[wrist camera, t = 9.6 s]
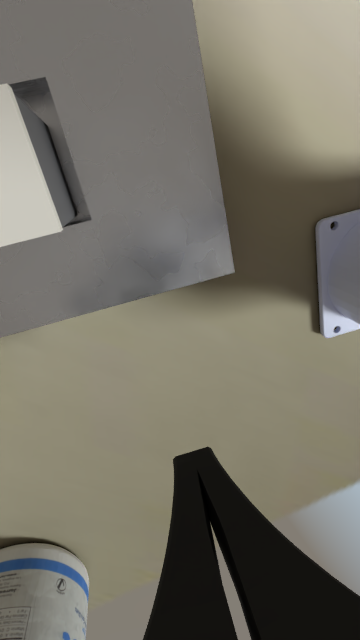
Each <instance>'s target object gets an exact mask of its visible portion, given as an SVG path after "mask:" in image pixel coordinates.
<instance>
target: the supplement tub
mask: <svg viewBox="0 0 360 640" xmlns="http://www.w3.org/2000/svg"><path fill="white" fill-rule="evenodd" d="M88 592H89V577H88V573H87V570H86V568H85V566H84V565H83V563H82V562H81V561H80V560H79V559H78V558H77V557H76V556H75V555H74V554H72V553H71V552H69V551H67V550H65V549H63V548H61V547H58V546H55V545H50V544H43V543H27V544H19V545H14V546H9V547H6V548H3V549H0V640H86V626H87V611H88Z"/></svg>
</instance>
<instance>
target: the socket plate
mask: <svg viewBox="0 0 360 640" xmlns="http://www.w3.org/2000/svg"><path fill="white" fill-rule="evenodd" d="M6 83H7V84H8V85H9V86H10V87H11V88H12V90H13V93H14V94H15V95H16V96H17V97H18V98H19V99H20V100H21V101H22V102H23V103H24V104H25V105H26V106H28V107H29V108H30V109H31V110H32V111H33V112H34V113H35V114H36V115H37V116H38V117H39V118H40V119H41V120H42V121H43V122H44V123H45V124H46V125H48V128H49V131H50V134H51V137H52V140H53V143H54V146H55V149H56V152H57V155H58V157H59V160H60V163H61V166H62V169H63V172H64V175H65V178H66V181H67V184H68V187H69V190H70V193H71V196H72V199H73V202H74V205H75V208H76V211H77V214H78V215H77V216H76V217H75V218H74V219H72V220H71V221H70V222H69V223H67V224H66V225H65V226H64V227H63V230H62V231H61V232H57V233H53V234H50V235H46V236H42V237H38V238H34V239H30V240H26V241H22V242H18V243H14V244H10V245H6V246H2V247H0V337H4V336H8V335H11V334H15V333H18V332H22V331H26V330H29V329H33V328H36V327H40V326H44V325H47V324H51V323H54V322H58V321H62V320H65V319H69V318H72V317H76V316H80V315H83V314H87V313H91V312H94V311H98V310H101V309H105V308H109V307H112V306H116V305H119V304H123V303H127V302H130V301H134V300H137V299H141V298H145V297H148V296H152V295H155V294H159V293H163V292H166V291H170V290H173V289H177V288H181V287H184V286H188V285H191V284H195V283H199V282H202V281H206V280H210V279H213V278H217V277H220V276H224V275H228V274H231V273H235V270H234V264H233V257H232V251H231V245H230V238H229V232H228V225H227V219H226V213H225V206H224V200H223V194H222V187H221V181H220V175H219V168H218V162H217V156H216V149H215V143H214V137H213V130H212V124H211V117H210V111H209V105H208V98H207V92H206V86H205V79H204V73H203V67H202V60H201V54H200V48H199V41H198V35H197V28H196V22H195V16H194V9H193V3H192V0H0V85H1V84H6Z"/></svg>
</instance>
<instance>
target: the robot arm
mask: <svg viewBox="0 0 360 640" xmlns="http://www.w3.org/2000/svg"><path fill="white" fill-rule="evenodd" d="M332 222H334V227H333V228H332V229H331V228H330V225H331V223H332ZM315 230H316V251H317V271H318V291H319V312H320V332H321V334H322V335H323V336H324V337H326V338H331V337H334V336H337V335H341V334H344V333H347V332H351V331H354V330H357V329H360V209H357V210H354V211H350V212H346V213H343V214H339V215H335V216H331V217H328V218H324V219H321V220H320V221H319V222H318V223H317V225H316V229H315ZM336 326H337V328H336V329H335V330H334V328H335V327H336ZM333 330H334V331H333ZM173 464H174V495H173V506H172V516H171V523H170V530H169V536H168V543H167V548H166V554H165V559H164V564H163V568H162V573H161V577H160V581H159V585H158V589H157V593H156V597H155V601H154V605H153V609H152V612H151V615H150V619H149V622H148V625H147V629H146V632H145V635H144V638H143V640H238V639H237V635H236V632H235V628H234V624H233V621H232V617H231V614H230V610H229V606H228V603H227V599H226V596H225V592H224V588H223V585H222V580H221V575H220V570H219V565H218V560H217V555H216V550H215V544H214V539H213V534H212V529H211V525H212V528H213V530H214V533H215V536H216V538H217V541H218V544H219V546H220V549H221V551H222V554H223V556H224V559H225V562H226V564H227V567H228V570H229V572H230V575H231V578H232V580H233V583H234V586H235V588H236V591H237V594H238V597H239V600H240V603H241V606H242V609H243V613H244V616H245V619H246V623H247V626H248V629H249V633H250V636H251V640H360V596H359V595H357V594H356V593H354V592H353V591H352V590H350V589H349V588H347V587H346V586H345V585H344V584H342V583H341V582H339V581H338V580H337V579H335V578H334V577H333V576H331V575H330V574H329V573H328V572H326V571H325V570H324V569H323V568H321V567H320V566H319V565H318V564H317V563H315V562H314V561H313V560H312V559H310V558H309V557H308V556H307V555H305V554H304V553H303V552H302V551H301V550H299V549H298V548H297V547H296V546H295V545H294V544H293V543H292V542H290V541H289V540H288V539H287V538H286V537H285V536H284V535H283V534H282V533H281V532H280V531H278V530H277V529H276V528H275V527H274V526H273V525H272V524H271V523H270V522H269V521H268V520H267V519H266V518H265V517H264V516H263V515H262V514H261V512H260V511H259V510H258V509H257V508H256V507H255V506H254V505H253V504H252V503H251V502H250V501H249V499H248V498H247V497H246V496H245V495H244V494H243V492H242V491H241V490H240V489H239V488H238V486H237V485H236V484H235V483H234V482H233V480H232V479H231V478H230V477H229V475H228V474H227V472H226V471H225V470H224V468H223V467H222V466H221V464H220V463H219V461H218V460H217V458H216V456H215V455H214V453H213V451H212V449H211V448H209V447H206V448H202V449H199V450H196V451H192V452H189V453H186V454H183V455H179V456H176V457H175V458H174V459H173ZM210 522H211V524H210Z"/></svg>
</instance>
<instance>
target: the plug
mask: <svg viewBox="0 0 360 640" xmlns="http://www.w3.org/2000/svg"><path fill="white" fill-rule="evenodd" d="M77 215H78V214H77V211H76V208H75V205H74V202H73V199H72V196H71V193H70V190H69V187H68V184H67V181H66V178H65V175H64V172H63V169H62V166H61V163H60V160H59V157H58V155H57V152H56V149H55V146H54V143H53V140H52V137H51V134H50V131H49V128H48V125H46V124H45V123H44V122H43V121H42V120H41V119H40V118H39V117H38V116H37V115H36V114H35V113H34V112H33V111H32V110H31V109H30V108H29V107H28V106H26V105H25V104H24V103H23V102H22V101H21V100H20V99H19V98H18V97H17V96H16V95H15V94H14V93H13V90H12V88H11V87H10V86H9V85H8V84H7V83H6V84H1V85H0V247H2V246H6V245H10V244H14V243H18V242H22V241H26V240H30V239H34V238H38V237H42V236H46V235H50V234H53V233H57V232H61V231H62V230H63V227H64V226H65V225H66V224H67V223H69V222H70V221H71V220H72V219H74V218H75V217H76V216H77Z"/></svg>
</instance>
